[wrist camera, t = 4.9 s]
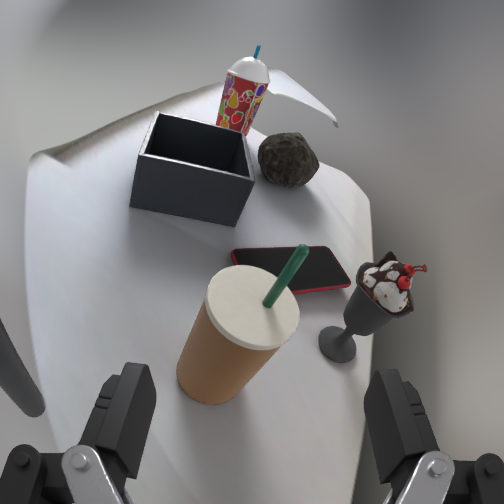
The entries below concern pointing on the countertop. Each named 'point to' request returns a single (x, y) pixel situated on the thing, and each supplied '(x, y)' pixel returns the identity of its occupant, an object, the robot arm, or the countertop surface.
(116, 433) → the robot arm
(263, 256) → the smartphone
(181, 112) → the countertop surface
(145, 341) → the countertop surface
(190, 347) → the takeaway cup
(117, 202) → the countertop surface
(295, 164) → the rock
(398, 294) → the sundae
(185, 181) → the bin
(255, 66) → the smoothie
